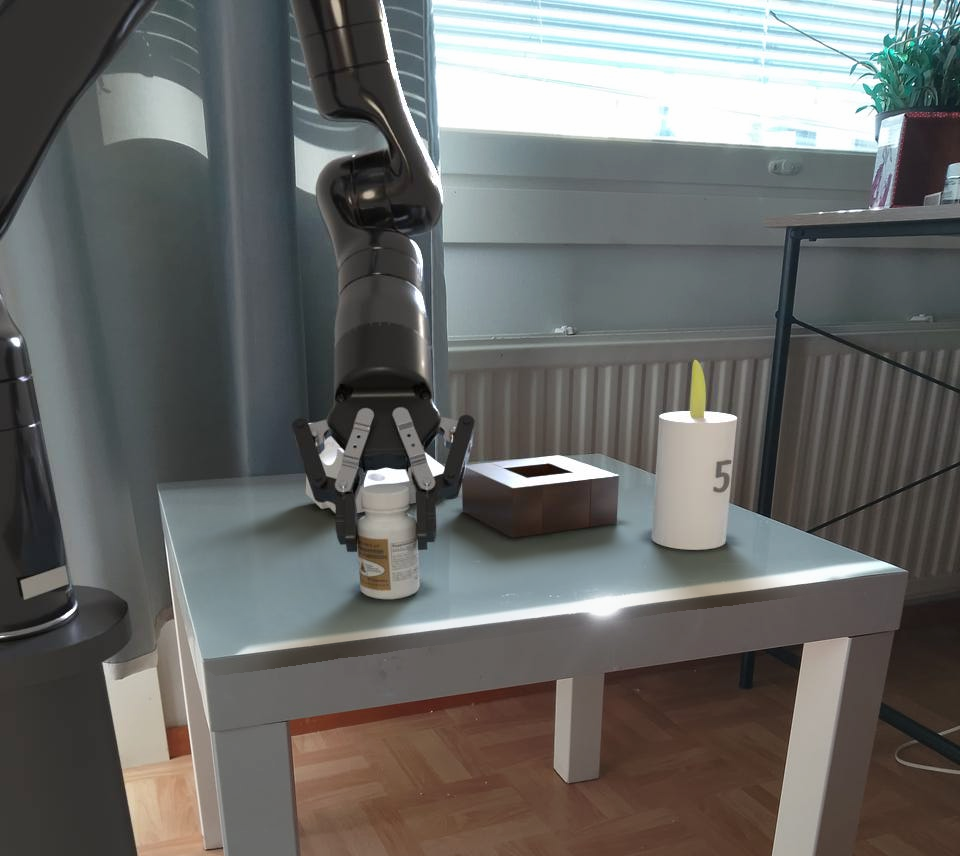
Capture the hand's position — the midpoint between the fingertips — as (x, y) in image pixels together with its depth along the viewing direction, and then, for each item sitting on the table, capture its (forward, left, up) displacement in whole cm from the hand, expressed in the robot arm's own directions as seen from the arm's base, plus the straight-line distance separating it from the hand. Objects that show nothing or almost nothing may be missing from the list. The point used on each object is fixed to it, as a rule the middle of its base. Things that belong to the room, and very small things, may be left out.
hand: (387, 544), depth 66 cm
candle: (+29, +3, -4) cm, 29 cm away
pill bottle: (+1, +2, -4) cm, 5 cm away
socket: (+21, +16, -4) cm, 26 cm away
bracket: (+10, +29, -4) cm, 31 cm away
